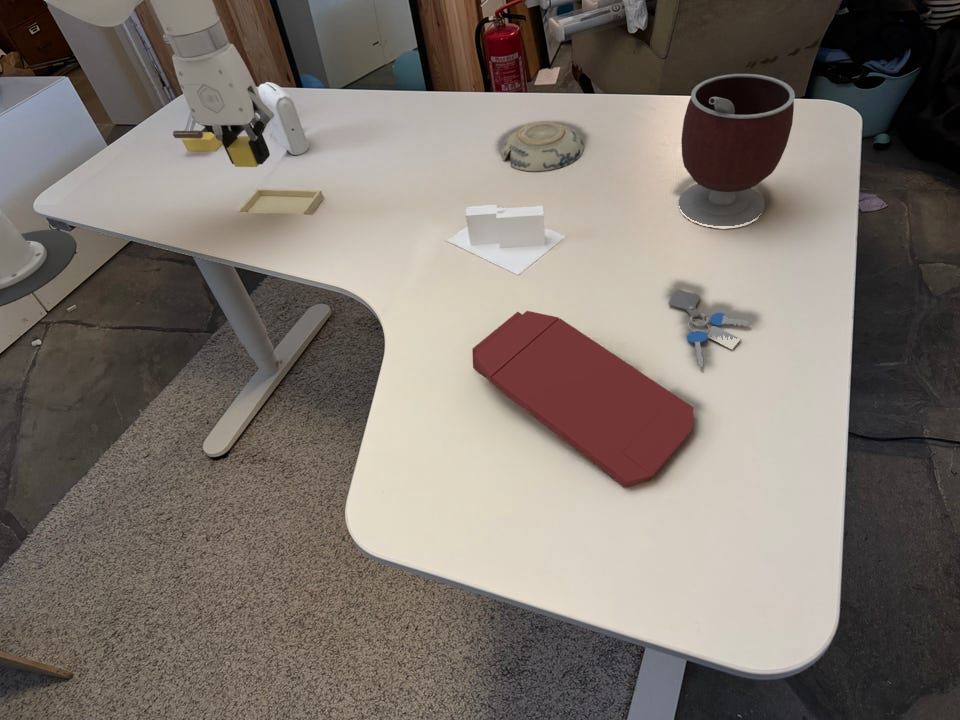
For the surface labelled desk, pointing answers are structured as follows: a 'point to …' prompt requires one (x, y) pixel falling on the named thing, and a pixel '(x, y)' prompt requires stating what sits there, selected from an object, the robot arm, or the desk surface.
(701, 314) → the key chain
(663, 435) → the dark red case
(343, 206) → the desk surface
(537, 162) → the decorative bowl
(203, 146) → the butter
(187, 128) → the grey and brown t-shape
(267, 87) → the photo printer
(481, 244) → the napkin holder
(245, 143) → the butter pat
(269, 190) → the beige square tray
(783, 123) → the mate gourd
